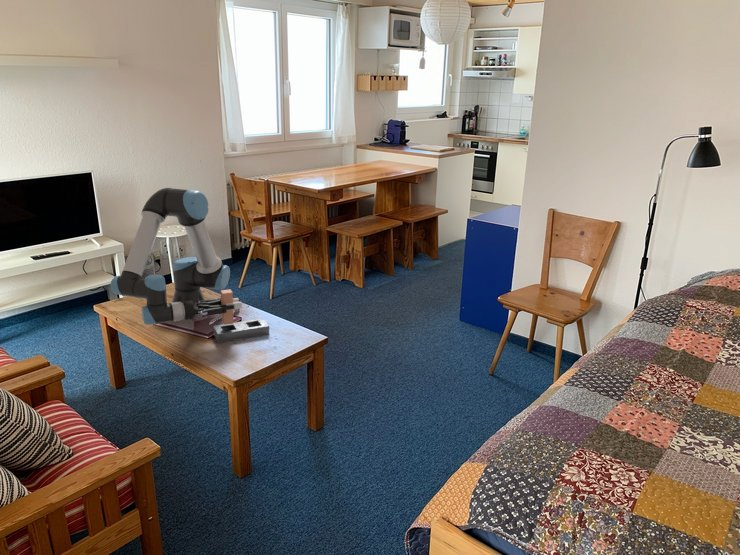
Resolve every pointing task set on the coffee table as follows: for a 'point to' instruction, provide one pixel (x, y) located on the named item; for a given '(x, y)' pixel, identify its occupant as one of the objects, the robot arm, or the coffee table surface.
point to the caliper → (221, 315)
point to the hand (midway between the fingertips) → (239, 303)
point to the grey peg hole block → (241, 330)
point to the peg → (225, 299)
